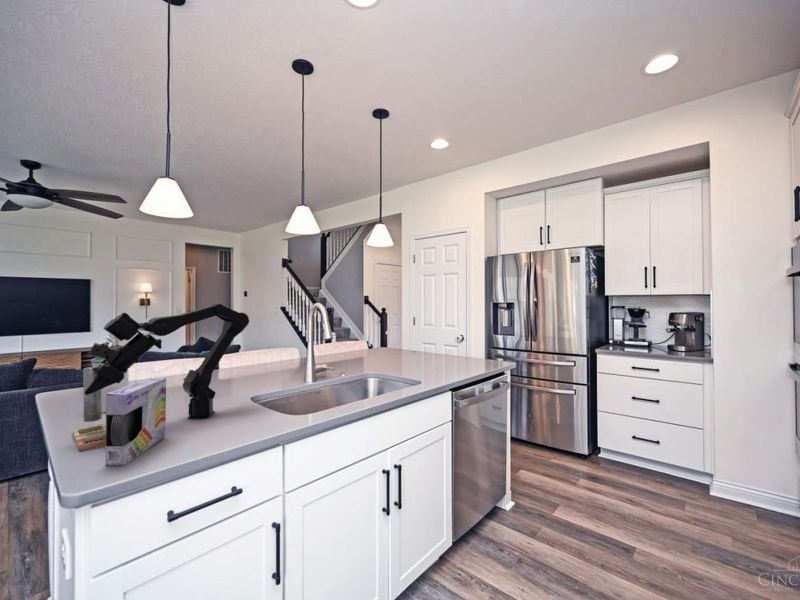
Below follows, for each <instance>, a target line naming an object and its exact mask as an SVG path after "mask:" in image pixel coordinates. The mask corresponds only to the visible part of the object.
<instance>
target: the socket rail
mask: <svg viewBox="0 0 800 600" xmlns="http://www.w3.org/2000/svg"><path fill="white" fill-rule="evenodd" d="M98 430H99V431H98ZM93 431H94V432H93ZM72 437H73V440H74V442H75V445H76V447H77V451H78V450H79V451H81V452H84V451H83V450H85V451H88V450H87V449H89V450H92V449H91V448H94V449H97V448H96V447H98V448H101V446H103V447H105V446H106V423H102V424H97V425H89V426H87V427H86V426H85V427H80V428H75V429H72ZM100 439H102V440H100ZM95 440H97V441H95ZM90 441H92V442H90ZM86 442H88V443H86ZM79 451H78V452H79Z"/></svg>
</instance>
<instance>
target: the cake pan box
mask: <svg viewBox="0 0 800 600" xmlns="http://www.w3.org/2000/svg"><path fill="white" fill-rule="evenodd" d="M166 400H167V377H157V376H156V377H149V378H146V379H144V380H140V381H139V382H134V383H130V384H128V386H126V387H124V388H121V389H119V390H116V391H113V392H110V393H107V395H106V412H105V425H106V446H104V447H105V465H116V466H117V465H118V466H125V465H126V464H128V463H129V462H131V461H132V460H134V459H135V458H137V456H139V455H141V454H142V453H144V452H145V451H146V450H148V449H149V448H151V447H152V446H153V445H154V444H157V443H158V442H159V441H161V440H162V439H163V438H165V437H166V415H167V414H166V411H167V410H166V407H167V406H166V405H167V403H166V402H167V401H166ZM130 460H131V461H130ZM127 462H128V463H127ZM124 464H125V465H124Z"/></svg>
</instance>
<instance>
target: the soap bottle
mask: <svg viewBox="0 0 800 600" xmlns="http://www.w3.org/2000/svg"><path fill="white" fill-rule="evenodd" d="M93 359H94V358H93ZM104 359H105V358H102V357H98V356H95V359H94V360H92V359H91V360H90V363H91V367H99V365H103V364H104V363H103V364H102V363H101V362H102V361H103V360H104ZM119 389H120V384H119V383H114V384H112V385H109V386H107V387H105V388H103V389H102V413H106V395H107V393H110V392H113V391H116V390H119Z"/></svg>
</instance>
